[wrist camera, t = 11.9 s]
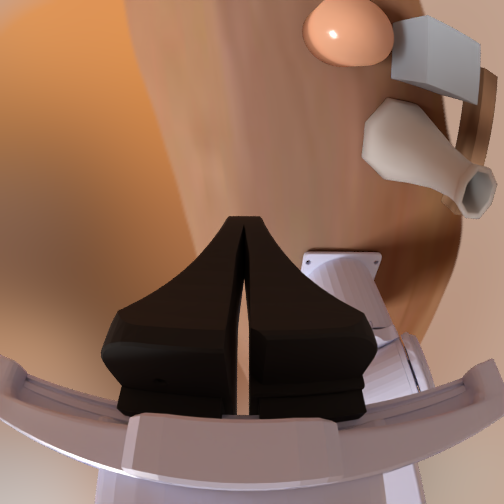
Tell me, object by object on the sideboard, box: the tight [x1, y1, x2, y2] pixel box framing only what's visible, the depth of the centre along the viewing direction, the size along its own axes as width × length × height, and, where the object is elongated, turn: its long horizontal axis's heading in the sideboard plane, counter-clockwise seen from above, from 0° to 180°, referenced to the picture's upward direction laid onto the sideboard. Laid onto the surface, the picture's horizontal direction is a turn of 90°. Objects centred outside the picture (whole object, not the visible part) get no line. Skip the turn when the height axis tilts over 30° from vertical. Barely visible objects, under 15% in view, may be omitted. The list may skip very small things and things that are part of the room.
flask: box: [362, 98, 497, 219], centre depth 14 cm, size 7×7×10 cm
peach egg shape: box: [302, 0, 394, 67], centre depth 12 cm, size 5×5×4 cm
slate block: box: [391, 15, 481, 105], centre depth 12 cm, size 5×5×5 cm
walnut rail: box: [441, 67, 497, 215], centre depth 16 cm, size 14×2×2 cm, turn 179°
